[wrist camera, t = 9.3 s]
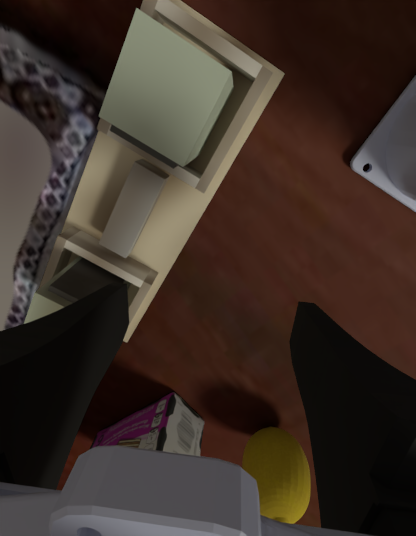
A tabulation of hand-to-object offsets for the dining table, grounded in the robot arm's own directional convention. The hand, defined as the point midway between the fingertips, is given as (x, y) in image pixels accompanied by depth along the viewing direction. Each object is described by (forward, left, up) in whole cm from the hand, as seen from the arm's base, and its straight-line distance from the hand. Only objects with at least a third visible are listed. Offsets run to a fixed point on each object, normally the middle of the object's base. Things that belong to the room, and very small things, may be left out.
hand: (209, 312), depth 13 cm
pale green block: (+6, -6, -9) cm, 12 cm away
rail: (+6, +1, -9) cm, 11 cm away
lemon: (-14, +14, -10) cm, 22 cm away
